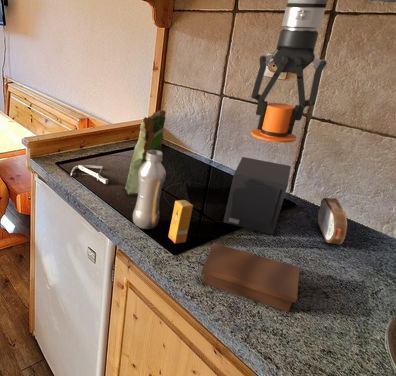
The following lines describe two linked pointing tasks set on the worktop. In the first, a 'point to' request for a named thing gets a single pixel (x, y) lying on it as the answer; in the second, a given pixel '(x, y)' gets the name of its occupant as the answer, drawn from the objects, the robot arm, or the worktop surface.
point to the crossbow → (91, 172)
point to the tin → (332, 221)
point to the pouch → (145, 147)
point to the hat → (276, 123)
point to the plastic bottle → (149, 190)
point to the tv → (257, 195)
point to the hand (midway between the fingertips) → (274, 130)
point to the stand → (252, 276)
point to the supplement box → (180, 221)
